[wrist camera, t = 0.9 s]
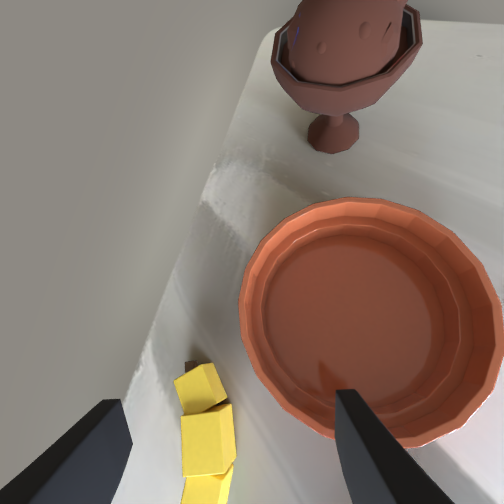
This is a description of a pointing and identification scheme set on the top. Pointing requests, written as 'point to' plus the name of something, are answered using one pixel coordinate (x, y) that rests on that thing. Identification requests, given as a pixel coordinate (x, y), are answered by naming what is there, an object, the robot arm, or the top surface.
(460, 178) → the top surface
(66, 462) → the robot arm
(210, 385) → the yellow banana
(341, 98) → the ice cream bowl
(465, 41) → the top surface
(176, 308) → the top surface
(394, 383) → the bowl
